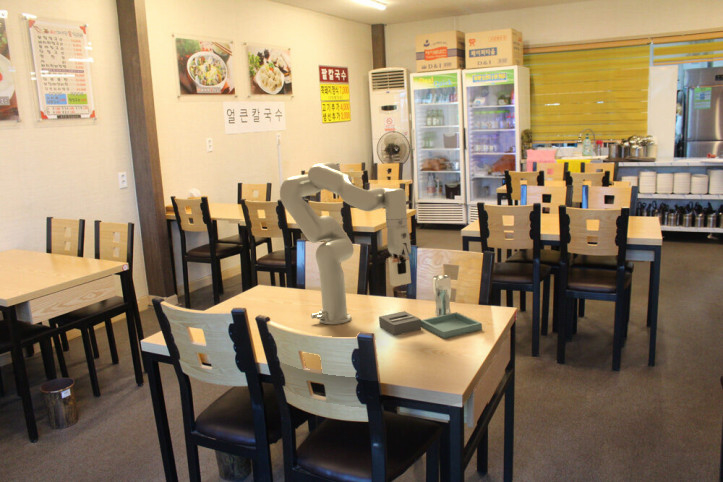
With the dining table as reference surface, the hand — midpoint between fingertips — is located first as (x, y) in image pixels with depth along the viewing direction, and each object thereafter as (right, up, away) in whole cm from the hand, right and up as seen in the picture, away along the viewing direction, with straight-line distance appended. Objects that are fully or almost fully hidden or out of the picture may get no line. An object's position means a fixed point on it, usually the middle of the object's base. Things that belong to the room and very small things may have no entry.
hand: (399, 272), depth 221 cm
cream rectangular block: (0, -4, +1) cm, 4 cm away
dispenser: (0, -21, +4) cm, 21 cm away
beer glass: (+18, -17, +18) cm, 31 cm away
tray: (+19, -20, 0) cm, 28 cm away
